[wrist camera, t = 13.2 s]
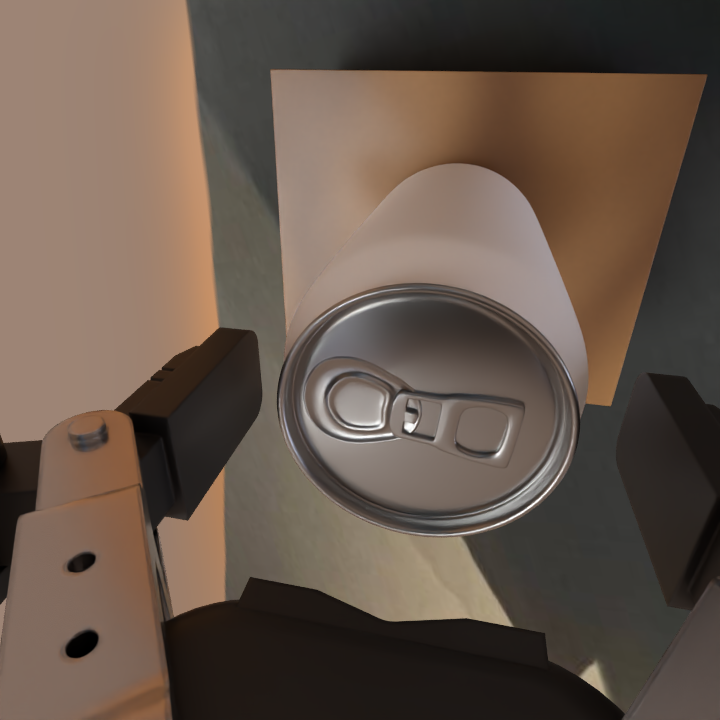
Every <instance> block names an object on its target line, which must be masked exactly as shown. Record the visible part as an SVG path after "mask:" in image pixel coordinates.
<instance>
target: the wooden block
mask: <svg viewBox="0 0 720 720" xmlns="http://www.w3.org/2000/svg"><path fill="white" fill-rule="evenodd" d="M270 71H271V88H272V104H273V121H274V138H275V155H276V172H277V188H278V205H279V222H280V239H281V256H282V273H283V289H284V306H285V323H286V338H287V334H288V330H289V327H290V324H291V321H292V319H293V317H294V314H295V312H296V310H297V308H298V306H299V304H300V302H301V301H302V299H303V297H304V296H305V294H306V293H307V291H308V290H309V288H310V287H311V286H312V284H313V283H314V282H315V280H316V279H317V278H318V276H319V275H320V274H321V273H322V271H323V270H324V269H325V268H326V266H327V265H328V264H329V263H330V262H331V260H332V259H333V258H334V257H335V256H336V254H337V253H338V252H339V251H340V250H341V248H342V247H343V246H344V245H345V244H346V243H347V241H348V240H349V239H350V238H351V237H352V235H353V234H354V233H355V232H356V231H357V230H358V228H359V227H360V226H361V225H362V224H363V223H364V221H365V220H366V219H367V218H368V217H369V216H370V215H371V213H372V212H373V211H374V210H375V209H376V208H377V207H378V205H379V204H380V203H381V202H382V201H383V200H384V199H385V198H386V196H387V195H388V194H389V193H390V192H391V191H392V190H393V189H394V188H395V187H397V186H398V185H399V184H400V183H401V182H403V181H404V180H405V179H407V178H409V177H410V176H412V175H414V174H416V173H418V172H420V171H422V170H424V169H427V168H430V167H433V166H437V165H443V164H452V163H462V164H471V165H476V166H480V167H483V168H486V169H489V170H491V171H494V172H496V173H498V174H499V175H501V176H503V177H504V178H506V179H507V180H508V181H510V182H511V183H512V184H513V185H514V186H515V187H517V188H518V189H519V191H520V192H521V193H522V194H523V195H524V196H525V198H526V199H527V201H528V202H529V204H530V205H531V207H532V209H533V211H534V213H535V215H536V217H537V219H538V222H539V224H540V226H541V229H542V231H543V233H544V236H545V238H546V241H547V243H548V246H549V248H550V251H551V253H552V256H553V258H554V261H555V263H556V266H557V268H558V270H559V273H560V275H561V278H562V281H563V283H564V286H565V288H566V291H567V293H568V296H569V298H570V301H571V304H572V306H573V309H574V312H575V314H576V317H577V320H578V323H579V326H580V329H581V332H582V335H583V339H584V343H585V348H586V353H587V361H588V391H587V397H586V402H585V403H587V404H596V405H604V406H611V403H612V400H613V396H614V393H615V390H616V386H617V383H618V379H619V376H620V373H621V369H622V366H623V362H624V359H625V355H626V352H627V349H628V345H629V342H630V338H631V335H632V331H633V328H634V325H635V321H636V318H637V314H638V311H639V308H640V304H641V301H642V297H643V294H644V290H645V287H646V284H647V280H648V277H649V273H650V270H651V267H652V263H653V260H654V256H655V253H656V249H657V246H658V243H659V239H660V236H661V232H662V229H663V225H664V222H665V219H666V215H667V212H668V208H669V205H670V202H671V198H672V195H673V191H674V188H675V184H676V181H677V178H678V174H679V171H680V167H681V164H682V161H683V157H684V154H685V150H686V147H687V143H688V140H689V137H690V133H691V130H692V126H693V123H694V119H695V116H696V113H697V109H698V106H699V102H700V99H701V96H702V92H703V89H704V85H705V82H706V78H707V74H636V73H553V72H471V71H389V70H307V69H271V70H270Z"/></svg>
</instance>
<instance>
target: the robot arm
mask: <svg viewBox="0 0 720 720" xmlns="http://www.w3.org/2000/svg"><path fill="white" fill-rule="evenodd" d="M261 402H262V383H261V372H260V361H259V349H258V340H257V336H256V334H255V332H254V331H251V330H241V329H231V328H219V329H217V330H216V331H215V332H214V333H213V334H212V335H211V336H210V337H209V338H208V339H206V340H205V341H204V342H203V344H201V345H200V346H195V347H192V348H190V349H188V350H186V351H184V352H182V353H180V354H178V355H176V356H174V357H173V358H172V359H171V360H170V361H169V362H168V363H166V364H165V365H164V366H163V367H162V370H159V371H158V372H156V373H155V374H154V375H153V376H152V377H151V380H147V382H145V383H144V384H143V385H142V386H141V387H140V388H138V389H137V390H136V391H135V392H134V393H133V394H132V395H131V396H130V397H129V398H127V399H126V400H125V401H124V402H123V403H122V404H121V405H119V406H118V407H117V408H116V409H115V410H114V411H111V410H99V411H91V412H86V413H82V414H79V415H77V416H73V417H71V418H68V419H66V420H64V421H62V422H61V423H59V424H57V425H56V426H54V427H53V428H52V429H51V430H50V431H49V432H48V433H47V434H46V435H45V437H44V439H43V440H39V441H26V442H12V443H3V441H2V438H1V435H0V604H1V603H2V602H3V601H4V600H5V598H6V597H7V600H6V607H5V615H4V623H3V629H2V637H1V645H0V720H720V409H719V408H717V407H716V406H714V405H710V404H705V402H704V401H703V400H702V398H701V397H700V395H699V394H698V393H697V391H696V390H695V388H694V387H693V385H692V384H691V383H690V381H689V380H688V379H687V378H686V377H682V376H673V375H663V374H654V373H641V374H640V375H639V376H638V378H637V380H636V382H635V385H634V388H633V391H632V394H631V398H630V401H629V404H628V407H627V410H626V414H625V417H624V420H623V423H622V426H621V430H620V433H619V436H618V440H617V447H616V460H617V466H618V470H619V472H620V475H621V478H622V481H623V483H624V486H625V489H626V492H627V495H628V497H629V500H630V503H631V506H632V509H633V511H634V514H635V517H636V520H637V523H638V525H639V528H640V531H641V534H642V537H643V539H644V542H645V545H646V548H647V550H648V553H649V556H650V559H651V562H652V564H653V567H654V570H655V573H656V576H657V578H658V581H659V584H660V587H661V590H662V592H663V595H664V598H665V601H666V604H667V606H669V607H675V608H681V609H686V610H692V611H691V613H690V614H689V616H688V617H687V619H686V620H685V622H684V623H683V625H682V627H681V628H680V630H679V631H678V633H677V634H676V636H675V637H674V639H673V641H672V642H671V644H670V645H669V647H668V648H667V650H666V651H665V653H664V655H663V656H662V658H661V659H660V661H659V662H658V664H657V665H656V667H655V669H654V670H653V672H652V673H651V675H650V676H649V678H648V679H647V681H646V683H645V684H644V686H643V687H642V689H641V690H640V692H639V694H638V695H637V697H636V698H635V700H634V701H633V703H632V704H631V706H630V708H629V709H628V711H627V712H626V714H624V713H623V712H622V711H621V710H620V709H619V708H618V707H617V706H616V705H615V704H614V703H613V702H612V701H610V700H609V699H608V698H607V697H606V696H604V695H603V694H602V693H601V692H600V691H598V690H597V689H596V688H594V687H593V686H591V685H590V684H588V683H587V682H586V681H584V680H583V679H581V678H580V677H578V676H577V675H575V674H573V673H571V672H570V671H568V670H566V669H564V668H563V667H561V666H559V665H557V664H555V663H552V662H550V661H548V656H547V647H546V639H545V633H541V632H536V631H530V630H525V629H520V628H515V627H509V626H504V625H499V624H494V623H488V622H483V621H478V620H473V619H467V618H465V619H443V620H421V621H399V622H391V621H385V620H382V619H379V618H377V617H375V616H373V615H371V614H369V613H366V612H364V611H362V610H360V609H358V608H356V607H353V606H351V605H349V604H347V603H345V602H342V601H340V600H338V599H336V598H334V597H332V596H329V595H327V594H325V593H323V592H321V591H319V590H315V589H310V588H305V587H300V586H294V585H289V584H284V583H279V582H273V581H268V580H263V579H258V578H252V577H250V578H249V580H248V583H247V585H246V587H245V589H244V591H243V593H242V595H241V598H240V600H230V601H224V602H218V603H213V604H209V605H206V606H202V607H199V608H195V609H193V610H190V611H188V612H185V613H182V614H180V615H178V616H176V617H174V615H173V610H172V604H171V599H170V593H169V588H168V582H167V576H166V571H165V565H164V560H163V554H162V548H161V542H160V537H159V533H158V529H157V526H158V524H159V523H160V522H161V520H162V519H163V518H164V517H171V518H177V519H182V520H189V518H190V517H191V515H192V514H193V512H194V511H195V509H196V508H197V506H198V505H199V503H200V502H201V500H202V499H203V497H204V495H205V494H206V493H207V491H208V490H209V488H210V487H211V485H212V484H213V482H214V481H215V479H216V478H217V476H218V475H219V473H220V472H221V470H222V469H223V467H224V466H225V464H226V463H227V461H228V460H229V458H230V457H231V455H232V454H233V452H234V451H235V449H236V448H237V446H238V445H239V443H240V442H241V440H242V439H243V437H244V436H245V434H246V433H247V431H248V430H249V428H250V427H251V425H252V424H253V422H254V421H255V419H256V418H257V416H258V414H259V411H260V407H261Z"/></svg>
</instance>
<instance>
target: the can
mask: <svg viewBox="0 0 720 720" xmlns="http://www.w3.org/2000/svg"><path fill="white" fill-rule="evenodd" d="M587 391H588V361H587V353H586V348H585V343H584V339H583V335H582V332H581V329H580V326H579V323H578V320H577V317H576V314H575V312H574V309H573V306H572V304H571V301H570V298H569V296H568V293H567V291H566V288H565V286H564V283H563V281H562V278H561V275H560V273H559V270H558V268H557V266H556V263H555V261H554V258H553V256H552V253H551V251H550V248H549V246H548V243H547V241H546V238H545V236H544V233H543V231H542V229H541V226H540V224H539V222H538V219H537V217H536V215H535V213H534V211H533V209H532V207H531V205H530V204H529V202H528V201H527V199H526V198H525V196H524V195H523V194H522V193H521V192H520V191H519V189H518V188H517V187H515V186H514V185H513V184H512V183H511V182H510V181H508V180H507V179H506V178H504V177H503V176H501V175H499V174H498V173H496V172H494V171H491V170H489V169H486V168H483V167H480V166H476V165H471V164H462V163H452V164H443V165H437V166H433V167H430V168H427V169H424V170H422V171H420V172H418V173H416V174H414V175H412V176H410V177H409V178H407V179H405V180H404V181H403V182H401V183H400V184H399V185H398V186H397V187H395V188H394V189H393V190H392V191H391V192H390V193H389V194H388V195H387V196H386V198H385V199H384V200H383V201H382V202H381V203H380V204H379V205H378V207H377V208H376V209H375V210H374V211H373V212H372V213H371V215H370V216H369V217H368V218H367V219H366V220H365V221H364V223H363V224H362V225H361V226H360V227H359V228H358V230H357V231H356V232H355V233H354V234H353V235H352V237H351V238H350V239H349V240H348V241H347V243H346V244H345V245H344V246H343V247H342V248H341V250H340V251H339V252H338V253H337V254H336V256H335V257H334V258H333V259H332V260H331V262H330V263H329V264H328V265H327V266H326V268H325V269H324V270H323V271H322V273H321V274H320V275H319V276H318V278H317V279H316V280H315V282H314V283H313V284H312V286H311V287H310V288H309V290H308V291H307V293H306V294H305V296H304V297H303V299H302V301H301V302H300V304H299V306H298V308H297V310H296V312H295V314H294V317H293V319H292V321H291V324H290V327H289V330H288V334H287V338H286V343H285V351H284V364H283V367H282V370H281V373H280V377H279V383H278V390H277V411H278V418H279V423H280V428H281V431H282V434H283V437H284V440H285V443H286V445H287V447H288V449H289V451H290V453H291V455H292V457H293V459H294V460H295V462H296V464H297V465H298V467H299V468H300V470H301V471H302V472H303V474H304V475H305V476H306V477H307V478H308V480H309V481H310V482H311V483H312V484H313V485H314V486H315V487H316V488H317V489H318V490H319V491H320V492H321V493H322V494H323V495H325V496H326V497H327V498H328V499H330V500H331V501H332V502H333V503H335V504H336V505H338V506H339V507H341V508H342V509H344V510H345V511H347V512H349V513H350V514H352V515H354V516H356V517H358V518H360V519H362V520H364V521H366V522H368V523H371V524H373V525H376V526H379V527H382V528H385V529H388V530H391V531H395V532H399V533H404V534H409V535H415V536H423V537H458V536H466V535H472V534H477V533H482V532H486V531H489V530H492V529H495V528H498V527H501V526H503V525H506V524H508V523H510V522H513V521H514V520H516V519H518V518H520V517H522V516H524V515H525V514H527V513H528V512H530V511H531V510H533V509H534V508H535V507H537V506H538V505H539V504H540V503H541V502H543V501H544V500H545V499H546V498H547V497H548V496H549V495H550V494H551V493H552V492H553V491H554V489H555V488H556V487H557V486H558V484H559V483H560V482H561V480H562V479H563V477H564V476H565V474H566V472H567V470H568V469H569V467H570V465H571V462H572V460H573V457H574V454H575V451H576V448H577V444H578V439H579V432H580V418H581V415H582V412H583V409H584V406H585V402H586V397H587Z"/></svg>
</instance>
